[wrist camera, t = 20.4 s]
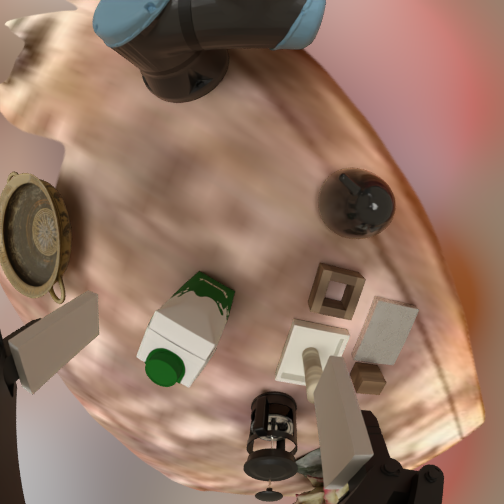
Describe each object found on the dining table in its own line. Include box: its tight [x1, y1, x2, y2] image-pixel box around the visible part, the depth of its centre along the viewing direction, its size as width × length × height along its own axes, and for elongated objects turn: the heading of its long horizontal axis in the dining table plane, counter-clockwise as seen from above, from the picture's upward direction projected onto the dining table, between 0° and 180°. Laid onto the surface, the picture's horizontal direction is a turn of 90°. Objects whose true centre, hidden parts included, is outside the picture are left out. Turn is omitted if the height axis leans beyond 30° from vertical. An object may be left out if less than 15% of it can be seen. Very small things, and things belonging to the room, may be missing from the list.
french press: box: [244, 392, 298, 501], centre depth 39 cm, size 12×9×23 cm
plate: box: [351, 297, 419, 365], centre depth 45 cm, size 12×9×2 cm
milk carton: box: [136, 271, 235, 387], centre depth 37 cm, size 9×9×20 cm
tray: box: [275, 319, 350, 386], centre depth 46 cm, size 12×10×2 cm
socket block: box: [308, 263, 366, 320], centre depth 42 cm, size 7×7×4 cm
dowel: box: [302, 347, 323, 404], centre depth 41 cm, size 3×3×12 cm
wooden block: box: [350, 362, 386, 395], centre depth 44 cm, size 3×5×6 cm, turn 77°
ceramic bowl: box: [0, 172, 72, 304], centre depth 42 cm, size 30×24×10 cm
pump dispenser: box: [318, 168, 396, 239], centre depth 34 cm, size 10×10×15 cm
